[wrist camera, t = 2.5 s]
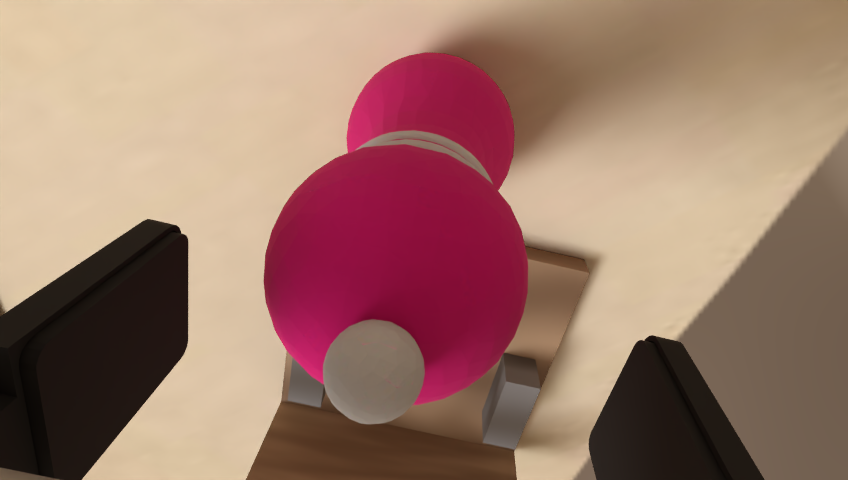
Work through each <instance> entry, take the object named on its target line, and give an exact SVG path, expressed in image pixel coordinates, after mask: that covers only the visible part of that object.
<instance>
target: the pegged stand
mask: <svg viewBox="0 0 848 480" xmlns="http://www.w3.org/2000/svg"><path fill="white" fill-rule="evenodd" d="M525 249H526V253H527V258H528V294H527V299H526V303H525V308H524V313H523V316H522V318H521V321H520V324H519V326H518V329H517V331H516V334H515V337H514V338H513V340H512V341H511V343H510V344H509V346H508V347H507V349H506V350H505V352H504V353H503V355H502V356H501V358H500V359H499V361H498V362H497V363H496V364H495V365H494V366H493V367H492V368H491V369H490V370H489V371H488V372H487V373H486V374H485V375H483V376H482V377H481V378H479V379H478V380H477V381H475V382H474V383H472V384H471V385H470V386H468V387H467V388H465V389H463V390H461V391H459V392H457V393H455V394H453V395H451V396H449V397H447V398H445V399H441V400H437V401H433V402H429V403H425V404H421V405H412V406H411V407H410V408H409V409H408V410H407V411H406V412H405V413H404V414H403V415H401V416H399V417H397V418H396V419H394V420H392V421H389V422H386V423H381V424H361V423H358V422H356V421H353V420H351V419H349V418H348V417H346V416H345V415H344V414H343V413H341V412H340V411H339V410H338V409H336V407H335V406H334V405H333V404H332V403H331V401H330V399H329V397H328V395H327V393H326V390H325V386H324V384H322V383H321V382H319V381H318V380H316V379H315V378H313V377H311V376H310V375H309V374H308V373H307V372H306V371H305V369H304V368H303V367H302V366H301V365H300V364H299V363H298V362H297V361H296V360H295V359H294V358H293V357H292V356H291V355H290V354H289V353H288V351H287V353H286V363H285V372H284V381H283V391H282V400H281V403H280V406H279V408H278V410H277V412H276V414H275V417H274V419H273V421H272V423H271V425H270V428H269V430H268V432H267V434H266V436H265V439H264V441H263V443H262V445H261V448H260V450H259V452H258V454H257V456H256V459H255V461H254V463H253V465H252V467H251V470H250V472H249V474H248V476H247V478H246V480H517V477H516V467H515V456H514V450H515V449H516V446H517V444H518V442H519V439H520V437H521V434H522V432H523V430H524V427H525V425H526V423H527V420H528V418H529V416H530V413H531V411H532V409H533V406H534V404H535V401H536V399H537V397H538V394H539V392H540V390H541V387H542V384H543V382H544V380H545V377H546V375H547V373H548V370H549V368H550V366H551V363H552V361H553V359H554V356H555V354H556V351H557V349H558V347H559V344H560V342H561V340H562V337H563V335H564V333H565V330H566V328H567V326H568V323H569V321H570V319H571V316H572V314H573V311H574V309H575V307H576V304H577V302H578V300H579V297H580V295H581V293H582V290H583V288H584V286H585V283H586V281H587V278H588V276H589V274H590V272H589V270H588V268H587V265H586V263H585V261H584V260H583V259H579V258H574V257H570V256H565V255H561V254H556V253H552V252H547V251H543V250H539V249H534V248H530V247H525Z"/></svg>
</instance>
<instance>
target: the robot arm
mask: <svg viewBox="0 0 848 480" xmlns="http://www.w3.org/2000/svg"><path fill="white" fill-rule="evenodd" d="M187 343H188V238H187V236H186V235H184V234H181V231H180V228H179V227H178V226H177V225H172V224H168V223H164V222H159V221H155V220H150V219H147V220H145V221H143V222H141V223H140V224H138V225H137V226H135V227H134V228H132V229H131V230H129V231H128V232H126V233H125V234H123V235H122V236H120V237H119V238H117V239H116V240H114V241H113V242H111V243H110V244H108V245H107V246H105V247H104V248H102V249H101V250H99V251H98V252H96V253H95V254H93V255H92V256H90V257H89V258H87V259H86V260H84V261H83V262H81V263H80V264H78V265H77V266H75V267H74V268H72V269H71V270H69V271H68V272H66V273H65V274H63V275H62V276H60V277H59V278H57V279H56V280H54V281H53V282H51V283H50V284H48V285H47V286H45V287H44V288H42V289H41V290H39V291H38V292H36V293H35V294H33V295H32V296H30V297H29V298H27V299H26V300H24V301H23V302H21V303H20V304H18V305H17V306H15V307H14V308H12V309H11V310H9V311H8V312H6V313H5V314H3V315H2V316H0V480H82V479H83V477H84V476H85V475H86V474H87V472H88V471H89V470H90V469H91V468H92V466H93V465H94V464H95V463H96V461H97V460H98V459H99V458H100V457H101V455H102V454H103V453H104V452H105V450H106V449H107V448H108V447H109V446H110V444H111V443H112V442H113V441H114V439H115V438H116V437H117V436H118V435H119V433H120V432H121V431H122V430H123V428H124V427H125V426H126V425H127V424H128V422H129V421H130V420H131V419H132V418H133V416H134V415H135V414H136V413H137V411H138V410H139V409H140V408H141V407H142V405H143V404H144V403H145V402H146V400H147V399H148V398H149V397H150V396H151V394H152V393H153V392H154V391H155V389H156V388H157V387H158V386H159V385H160V383H161V382H162V381H163V380H164V378H165V377H166V376H167V375H168V374H169V372H170V371H171V370H172V369H173V367H174V366H175V365H176V364H177V363H178V361H179V360H180V359H181V358H182V356H183V354H184V352H185V350H186V347H187ZM589 451H590V456H591V460H592V463H593V467H594V471H595V475H596V479H597V480H764V478H763V476H762V475H761V473H760V471H759V470H758V468H757V466H756V465H755V463H754V461H753V460H752V458H751V456H750V455H749V453H748V452H747V450H746V448H745V447H744V445H743V443H742V442H741V440H740V438H739V437H738V435H737V433H736V432H735V430H734V428H733V427H732V425H731V423H730V422H729V420H728V418H727V417H726V415H725V413H724V412H723V410H722V409H721V407H720V405H719V404H718V402H717V400H716V399H715V397H714V395H713V394H712V392H711V390H710V389H709V387H708V385H707V384H706V382H705V380H704V379H703V377H702V375H701V374H700V372H699V370H698V369H697V367H696V365H695V364H694V362H693V360H692V359H691V357H690V356H689V354H688V352H687V351H686V349H685V347H684V346H683V344H682V343H681V342H678V341H674V340H670V339H665V338H661V337H657V336H649V337H647V338H646V339H645V341H643V340H639V341H638V342H637V343H636V344H635V346H634V347H633V349H632V351H631V353H630V355H629V357H628V359H627V361H626V363H625V365H624V367H623V369H622V371H621V373H620V375H619V377H618V379H617V381H616V384H615V386H614V388H613V390H612V392H611V394H610V396H609V398H608V400H607V402H606V404H605V406H604V408H603V410H602V412H601V414H600V416H599V418H598V420H597V422H596V424H595V426H594V428H593V430H592V432H591V434H590V438H589Z"/></svg>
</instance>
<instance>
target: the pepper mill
mask: <svg viewBox="0 0 848 480" xmlns="http://www.w3.org/2000/svg"><path fill="white" fill-rule="evenodd" d="M347 148H348V153H347V154H345V155H342V156H340V157H337V158H335V159H333V160H332V161H330V162H329V163H327V164H326V165H324V166H323V167H321V168H320V169H318V170H317V171H315V172H314V173H313V174H312V175H311V176H309V177H308V178H307V179H306V180H305V181H304V182H303V183H302V184H301V185H300V186H299V187H298V188H297V189H296V190H295V191H294V193H293V194H292V195H291V197H290V198H289V200H288V201H287V203H286V204H285V205H284V207H283V209H282V211H281V213H280V215H279V217H278V219H277V221H276V223H275V226H274V228H273V230H272V232H271V236H270V240H269V243H268V247H267V250H266V255H265V270H264V289H265V298H266V304H267V307H268V310H269V313H270V316H271V319H272V322H273V325H274V328H275V331H276V333H277V335H278V336H279V338H280V340H281V341H282V343H283V345H284V346H285V348H286V350H287V351H288V353H289V354H290V355H291V356H292V357H293V358H294V359H295V360H296V361H297V362H298V363H299V364H300V365H301V366H302V367H303V368H304V369H305V371H306V372H307V373H308V374H309V375H310V376H311V377H313V378H315V379H316V380H318V381H319V382H321V383H322V384H324V386H325V390H326V393H327V395H328V397H329V399H330V401H331V403H332V404H333V405H334V406H335V407H336V409H338V410H339V411H340V412H341V413H343V414H344V415H345V416H346V417H348V418H349V419H351V420H353V421H356V422H358V423H361V424H381V423H386V422H389V421H392V420H394V419H396V418H397V417H399V416H401V415H403V414H404V413H405V412H406V411H407V410H408V409H409V408H410V407H411V406H412V405H421V404H425V403H429V402H433V401H437V400H441V399H445V398H447V397H449V396H451V395H453V394H455V393H457V392H459V391H461V390H463V389H465V388H467V387H468V386H470V385H471V384H472V383H474V382H475V381H477V380H478V379H479V378H481V377H482V376H483V375H485V374H486V373H487V372H488V371H489V370H490V369H491V368H492V367H493V366H494V365H495V364H496V363H497V362H498V361H499V359H500V358H501V356H502V355H503V353H504V352H505V350H506V349H507V347H508V346H509V344H510V343H511V341H512V340H513V338H514V337H515V334H516V331H517V329H518V326H519V324H520V321H521V318H522V316H523V313H524V308H525V303H526V299H527V294H528V258H527V253H526V249H525V244H524V240H523V236H522V231H521V228H520V226H519V224H518V222H517V220H516V218H515V216H514V214H513V211H512V209H511V207H510V205H509V204H508V203H507V202H506V201H505V199H504V198H503V197H502V196H501V194H500V193H499V192H498V190H499V189H500V187H501V185H502V183H503V181H504V180H505V178H506V176H507V174H508V171H509V168H510V164H511V161H512V158H513V150H514V125H513V118H512V115H511V111H510V107H509V105H508V103H507V101H506V99H505V97H504V95H503V93H502V92H501V90H500V89H499V87H498V86H497V84H496V83H495V82H494V81H493V80H492V79H491V78H490V77H489V76H488V75H487V74H486V73H485V72H484V71H483V70H481V69H480V68H478V67H477V66H475V65H474V64H472V63H470V62H468V61H466V60H464V59H461V58H459V57H456V56H452V55H448V54H442V53H421V54H415V55H409V56H406V57H404V58H401V59H398V60H396V61H394V62H392V63H391V64H389V65H387V66H385V67H384V68H383V69H381V70H380V71H379V72H378V73H376V74H375V75H374V76H373V77H372V78H371V80H370V81H369V82H368V83H367V84H366V85H365V87H364V88H363V90H362V92H361V93H360V95H359V97H358V99H357V101H356V103H355V105H354V107H353V109H352V112H351V116H350V119H349V123H348V131H347Z"/></svg>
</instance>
